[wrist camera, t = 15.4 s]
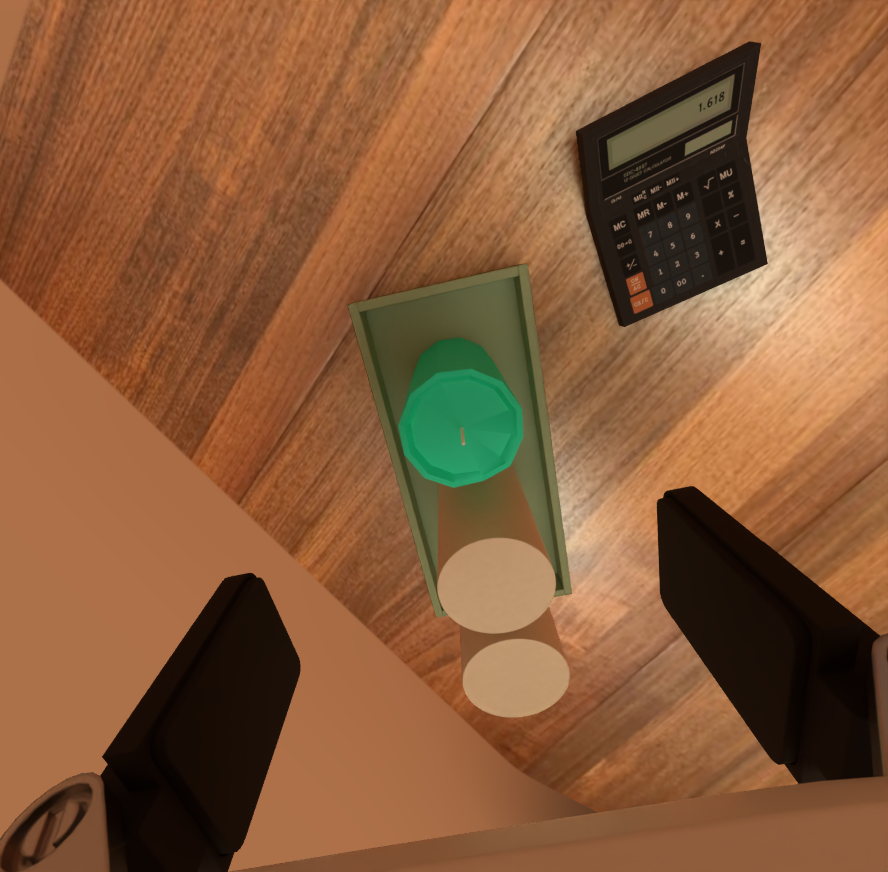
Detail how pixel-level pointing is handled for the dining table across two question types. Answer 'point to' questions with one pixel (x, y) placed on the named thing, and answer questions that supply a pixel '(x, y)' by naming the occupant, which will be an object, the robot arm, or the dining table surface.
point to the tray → (517, 358)
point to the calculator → (675, 188)
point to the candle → (459, 415)
